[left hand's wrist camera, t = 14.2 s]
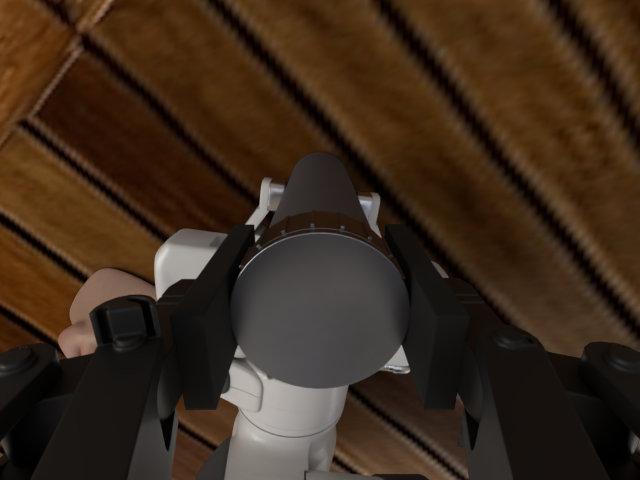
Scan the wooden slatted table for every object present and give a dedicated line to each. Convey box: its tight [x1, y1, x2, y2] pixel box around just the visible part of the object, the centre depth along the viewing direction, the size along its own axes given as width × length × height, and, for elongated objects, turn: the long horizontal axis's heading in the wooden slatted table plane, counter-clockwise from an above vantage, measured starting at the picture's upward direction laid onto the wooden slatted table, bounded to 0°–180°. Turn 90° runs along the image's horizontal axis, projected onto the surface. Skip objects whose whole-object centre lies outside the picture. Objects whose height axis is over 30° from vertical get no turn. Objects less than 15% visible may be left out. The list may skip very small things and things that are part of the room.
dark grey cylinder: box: [269, 152, 371, 228], centre depth 20 cm, size 5×5×20 cm
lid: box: [229, 209, 411, 389], centre depth 11 cm, size 5×5×2 cm
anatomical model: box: [58, 268, 157, 358], centre depth 32 cm, size 13×4×12 cm
